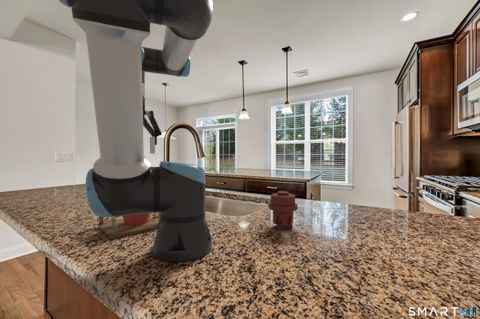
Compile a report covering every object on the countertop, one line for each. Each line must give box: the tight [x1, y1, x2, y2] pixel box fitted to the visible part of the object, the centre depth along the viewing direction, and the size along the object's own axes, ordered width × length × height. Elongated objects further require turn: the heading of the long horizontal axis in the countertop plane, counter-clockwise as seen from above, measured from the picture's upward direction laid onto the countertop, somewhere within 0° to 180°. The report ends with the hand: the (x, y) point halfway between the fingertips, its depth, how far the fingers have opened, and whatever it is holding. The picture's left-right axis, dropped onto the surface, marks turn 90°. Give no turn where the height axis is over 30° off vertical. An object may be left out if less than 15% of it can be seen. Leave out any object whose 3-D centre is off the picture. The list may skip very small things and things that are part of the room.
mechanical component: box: [268, 190, 299, 231], centre depth 78 cm, size 12×10×10 cm
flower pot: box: [122, 213, 151, 226], centre depth 79 cm, size 11×11×10 cm
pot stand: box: [97, 212, 160, 240], centre depth 78 cm, size 16×16×6 cm
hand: (134, 153), depth 82 cm, fingers open, 13 cm apart
